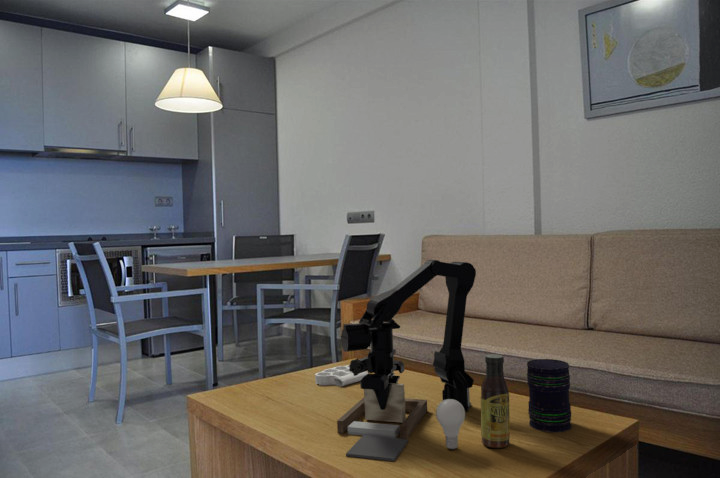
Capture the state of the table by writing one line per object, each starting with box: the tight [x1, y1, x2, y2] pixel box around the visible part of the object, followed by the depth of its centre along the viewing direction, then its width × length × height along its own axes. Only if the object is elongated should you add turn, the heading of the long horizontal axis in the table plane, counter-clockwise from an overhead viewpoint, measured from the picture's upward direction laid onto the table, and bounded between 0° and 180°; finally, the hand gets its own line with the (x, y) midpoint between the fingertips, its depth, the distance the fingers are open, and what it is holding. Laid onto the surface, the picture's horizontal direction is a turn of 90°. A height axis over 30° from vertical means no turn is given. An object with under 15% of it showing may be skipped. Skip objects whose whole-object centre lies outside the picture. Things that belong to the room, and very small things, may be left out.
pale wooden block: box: [363, 383, 407, 424], centre depth 143 cm, size 10×3×9 cm, turn 70°
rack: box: [336, 397, 428, 439], centre depth 142 cm, size 18×20×3 cm
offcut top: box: [347, 420, 401, 436], centre depth 135 cm, size 12×4×1 cm, turn 68°
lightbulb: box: [435, 399, 466, 450], centre depth 123 cm, size 6×6×11 cm
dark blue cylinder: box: [526, 358, 572, 433], centre depth 135 cm, size 10×10×15 cm
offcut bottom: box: [347, 431, 400, 438], centre depth 135 cm, size 12×4×1 cm, turn 70°
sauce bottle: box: [480, 353, 511, 449], centre depth 124 cm, size 7×6×20 cm
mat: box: [345, 435, 409, 462], centre depth 125 cm, size 11×11×1 cm
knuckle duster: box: [314, 364, 370, 387], centre depth 184 cm, size 3×18×15 cm
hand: (384, 407), depth 143 cm, fingers closed on pale wooden block, 3 cm apart
